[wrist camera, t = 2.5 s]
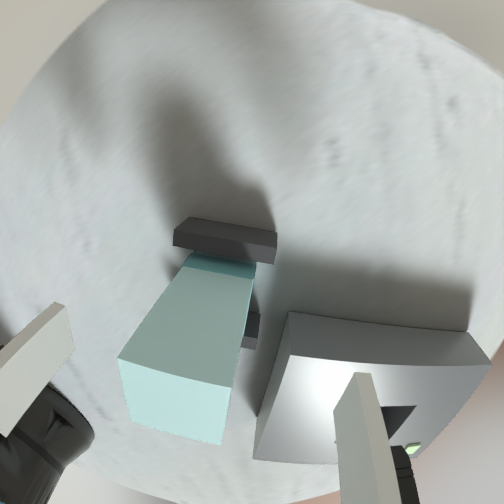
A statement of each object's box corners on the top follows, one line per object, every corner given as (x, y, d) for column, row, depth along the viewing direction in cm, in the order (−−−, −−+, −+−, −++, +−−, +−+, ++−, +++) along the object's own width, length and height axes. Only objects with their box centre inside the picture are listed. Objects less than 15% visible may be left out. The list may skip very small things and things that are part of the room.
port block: (256, 420, 26) (252, 461, 21) (288, 311, 21) (290, 358, 16) (406, 425, 26) (416, 459, 21) (468, 332, 21) (494, 366, 16)
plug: (195, 293, 21) (129, 421, 10) (199, 242, 20) (115, 356, 9) (249, 304, 21) (221, 446, 10) (258, 253, 20) (233, 387, 8)
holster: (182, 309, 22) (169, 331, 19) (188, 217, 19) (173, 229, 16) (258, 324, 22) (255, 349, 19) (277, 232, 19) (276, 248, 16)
